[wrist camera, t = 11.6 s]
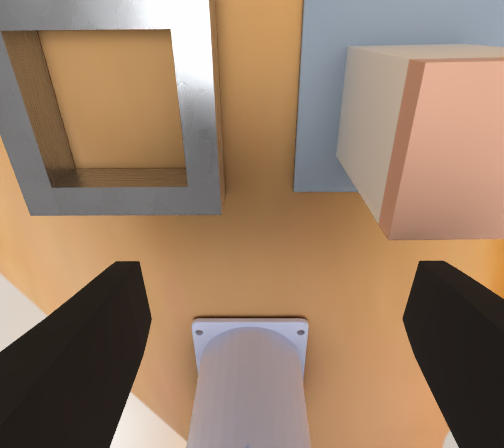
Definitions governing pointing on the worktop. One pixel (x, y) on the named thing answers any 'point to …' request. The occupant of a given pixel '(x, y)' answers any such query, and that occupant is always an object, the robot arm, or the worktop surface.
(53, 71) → the worktop surface
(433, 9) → the rubber mat
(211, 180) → the frame
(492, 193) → the beige pink box
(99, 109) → the worktop surface
